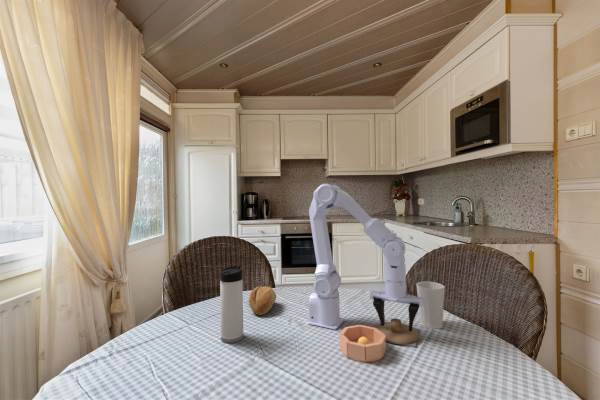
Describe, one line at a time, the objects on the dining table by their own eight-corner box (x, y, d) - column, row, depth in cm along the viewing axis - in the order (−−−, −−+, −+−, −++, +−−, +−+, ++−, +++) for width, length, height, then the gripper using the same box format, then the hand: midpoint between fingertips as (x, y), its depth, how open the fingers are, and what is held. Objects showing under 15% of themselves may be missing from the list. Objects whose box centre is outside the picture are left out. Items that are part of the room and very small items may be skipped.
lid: (369, 337, 76) (369, 324, 76) (380, 321, 86) (380, 309, 86) (415, 348, 69) (415, 334, 69) (421, 329, 80) (421, 317, 80)
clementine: (356, 350, 69) (356, 338, 69) (359, 345, 71) (359, 333, 72) (368, 353, 67) (368, 341, 67) (371, 347, 70) (370, 336, 70)
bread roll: (244, 318, 92) (244, 294, 92) (253, 302, 106) (253, 281, 107) (273, 317, 91) (272, 294, 91) (277, 301, 106) (277, 281, 106)
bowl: (334, 355, 68) (334, 339, 68) (348, 335, 78) (348, 322, 78) (379, 366, 63) (379, 350, 63) (388, 344, 72) (388, 330, 72)
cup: (449, 330, 79) (448, 289, 80) (420, 328, 81) (419, 288, 81) (441, 319, 87) (440, 282, 87) (414, 317, 89) (413, 281, 89)
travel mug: (248, 334, 80) (247, 266, 80) (234, 345, 74) (232, 271, 74) (231, 330, 82) (230, 264, 83) (216, 340, 76) (215, 269, 77)
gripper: (366, 280, 78) (367, 327, 78) (421, 286, 71) (422, 338, 71) (372, 274, 84) (373, 318, 84) (423, 279, 78) (424, 327, 77)
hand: (396, 327), depth 78 cm, fingers open, 7 cm apart
